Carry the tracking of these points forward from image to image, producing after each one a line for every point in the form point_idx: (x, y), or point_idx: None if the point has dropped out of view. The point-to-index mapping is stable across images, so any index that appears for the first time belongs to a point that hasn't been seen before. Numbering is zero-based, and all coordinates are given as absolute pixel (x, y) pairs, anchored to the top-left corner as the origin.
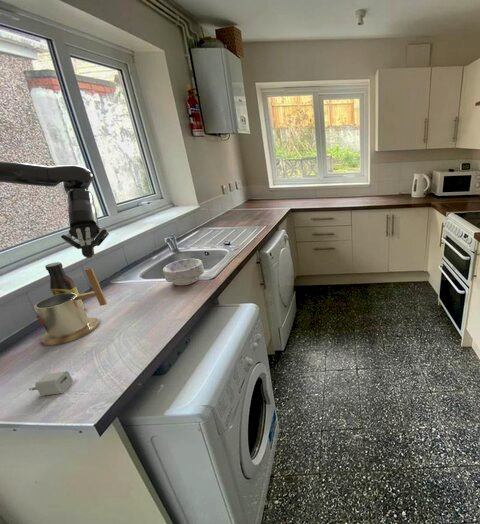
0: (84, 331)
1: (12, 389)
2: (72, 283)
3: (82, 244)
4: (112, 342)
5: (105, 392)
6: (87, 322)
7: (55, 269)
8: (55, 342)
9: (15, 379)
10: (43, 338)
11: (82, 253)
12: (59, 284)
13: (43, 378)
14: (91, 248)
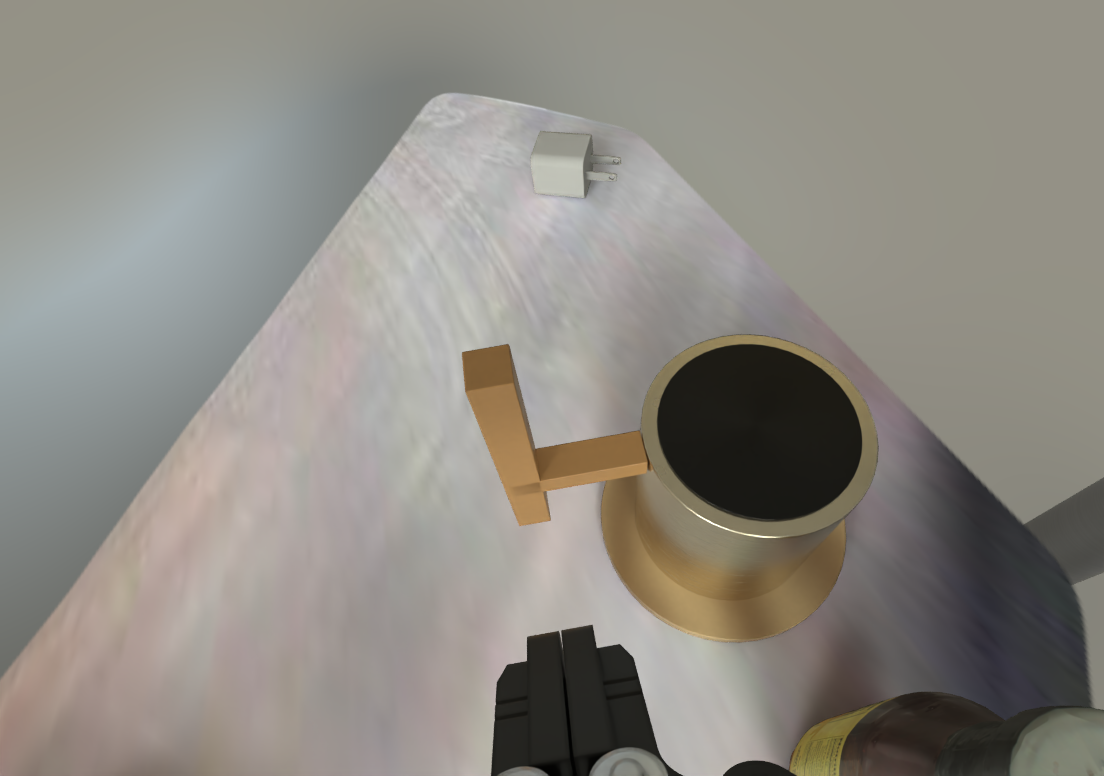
0: None
1: (702, 217)
2: None
3: (624, 769)
4: None
5: (440, 147)
6: (635, 505)
7: (1006, 721)
8: None
9: (730, 255)
10: None
11: (629, 665)
12: (926, 708)
13: (579, 143)
14: (503, 743)
